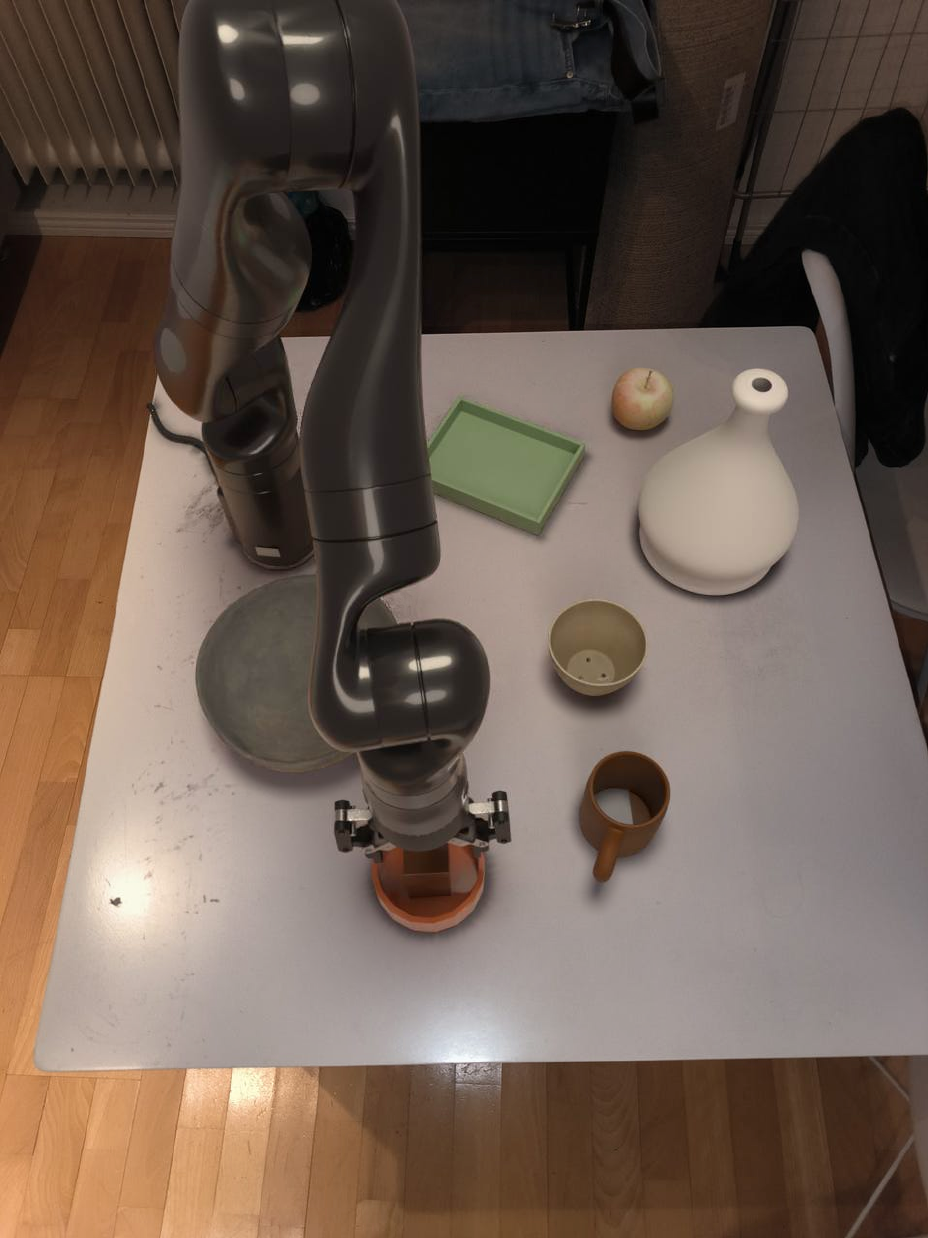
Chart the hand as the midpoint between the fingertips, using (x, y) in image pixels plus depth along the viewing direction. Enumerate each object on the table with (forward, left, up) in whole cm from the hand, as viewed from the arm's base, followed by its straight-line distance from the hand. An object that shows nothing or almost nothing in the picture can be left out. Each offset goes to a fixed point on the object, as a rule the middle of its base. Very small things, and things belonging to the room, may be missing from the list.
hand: (427, 849), depth 85 cm
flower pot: (+5, +27, -10) cm, 29 cm away
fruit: (-4, +62, -10) cm, 63 cm away
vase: (+10, +49, -10) cm, 51 cm away
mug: (+14, +11, -10) cm, 20 cm away
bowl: (-20, +11, -10) cm, 25 cm away
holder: (0, 0, -9) cm, 9 cm away
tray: (-16, +47, -9) cm, 51 cm away
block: (0, 0, -9) cm, 9 cm away
